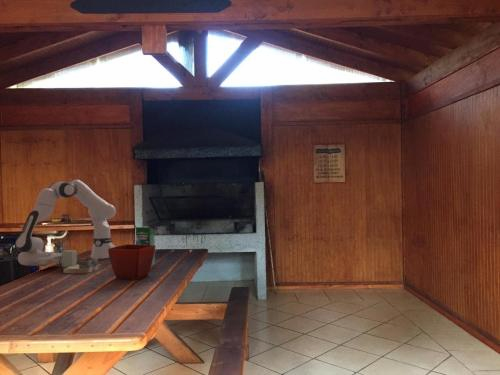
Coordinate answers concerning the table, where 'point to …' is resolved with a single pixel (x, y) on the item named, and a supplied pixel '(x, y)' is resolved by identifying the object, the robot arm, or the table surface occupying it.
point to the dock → (84, 266)
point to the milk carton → (145, 237)
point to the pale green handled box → (68, 257)
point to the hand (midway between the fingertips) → (63, 259)
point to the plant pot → (131, 260)
